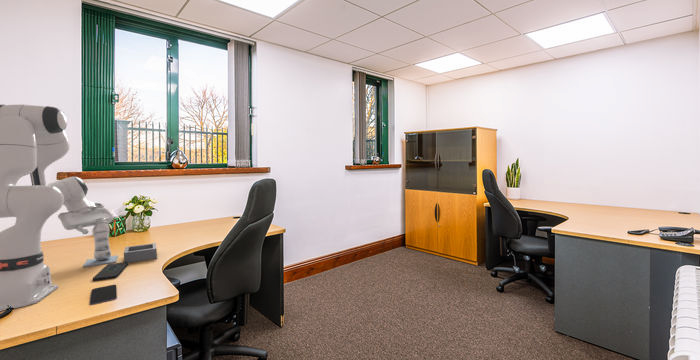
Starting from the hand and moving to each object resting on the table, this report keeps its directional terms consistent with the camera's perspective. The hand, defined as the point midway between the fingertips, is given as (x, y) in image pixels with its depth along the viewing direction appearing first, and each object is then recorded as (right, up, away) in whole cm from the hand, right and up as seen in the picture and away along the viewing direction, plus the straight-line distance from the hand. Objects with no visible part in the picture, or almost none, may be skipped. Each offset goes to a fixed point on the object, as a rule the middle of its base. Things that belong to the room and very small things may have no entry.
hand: (97, 231), depth 148 cm
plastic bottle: (+2, -14, +1) cm, 14 cm away
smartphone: (+34, -17, -39) cm, 55 cm away
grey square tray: (+17, -14, +6) cm, 23 cm away
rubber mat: (+2, -15, 0) cm, 15 cm away
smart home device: (+18, -16, -15) cm, 29 cm away
